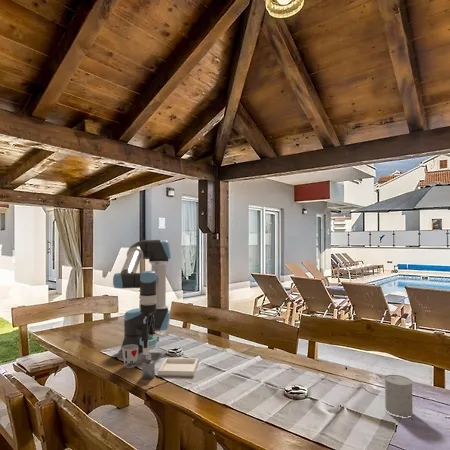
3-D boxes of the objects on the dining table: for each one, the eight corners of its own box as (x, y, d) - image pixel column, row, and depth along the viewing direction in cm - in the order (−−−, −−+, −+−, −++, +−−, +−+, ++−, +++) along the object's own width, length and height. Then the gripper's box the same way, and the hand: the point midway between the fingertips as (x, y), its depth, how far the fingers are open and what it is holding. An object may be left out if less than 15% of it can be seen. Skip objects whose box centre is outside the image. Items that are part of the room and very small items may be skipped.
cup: (122, 369, 178) (122, 349, 178) (122, 364, 186) (122, 345, 186) (138, 368, 180) (138, 348, 180) (138, 362, 188) (138, 343, 188)
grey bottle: (143, 374, 172) (143, 351, 172) (156, 374, 172) (156, 351, 172) (140, 379, 166) (140, 355, 166) (152, 379, 166) (152, 356, 166)
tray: (165, 362, 187) (165, 357, 188) (198, 363, 187) (198, 358, 187) (157, 376, 170) (157, 370, 170) (193, 376, 169) (193, 371, 169)
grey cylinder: (404, 405, 140) (403, 374, 141) (418, 418, 131) (417, 384, 131) (380, 406, 140) (380, 374, 140) (392, 418, 130) (392, 385, 131)
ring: (145, 347, 164) (145, 342, 164) (137, 343, 170) (137, 338, 170) (162, 343, 170) (162, 338, 170) (154, 339, 176) (154, 334, 176)
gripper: (146, 299, 180) (146, 344, 180) (133, 308, 160) (134, 359, 160) (161, 299, 180) (161, 344, 180) (150, 308, 159) (150, 359, 159)
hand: (148, 351), depth 170 cm, fingers closed on ring, 8 cm apart
